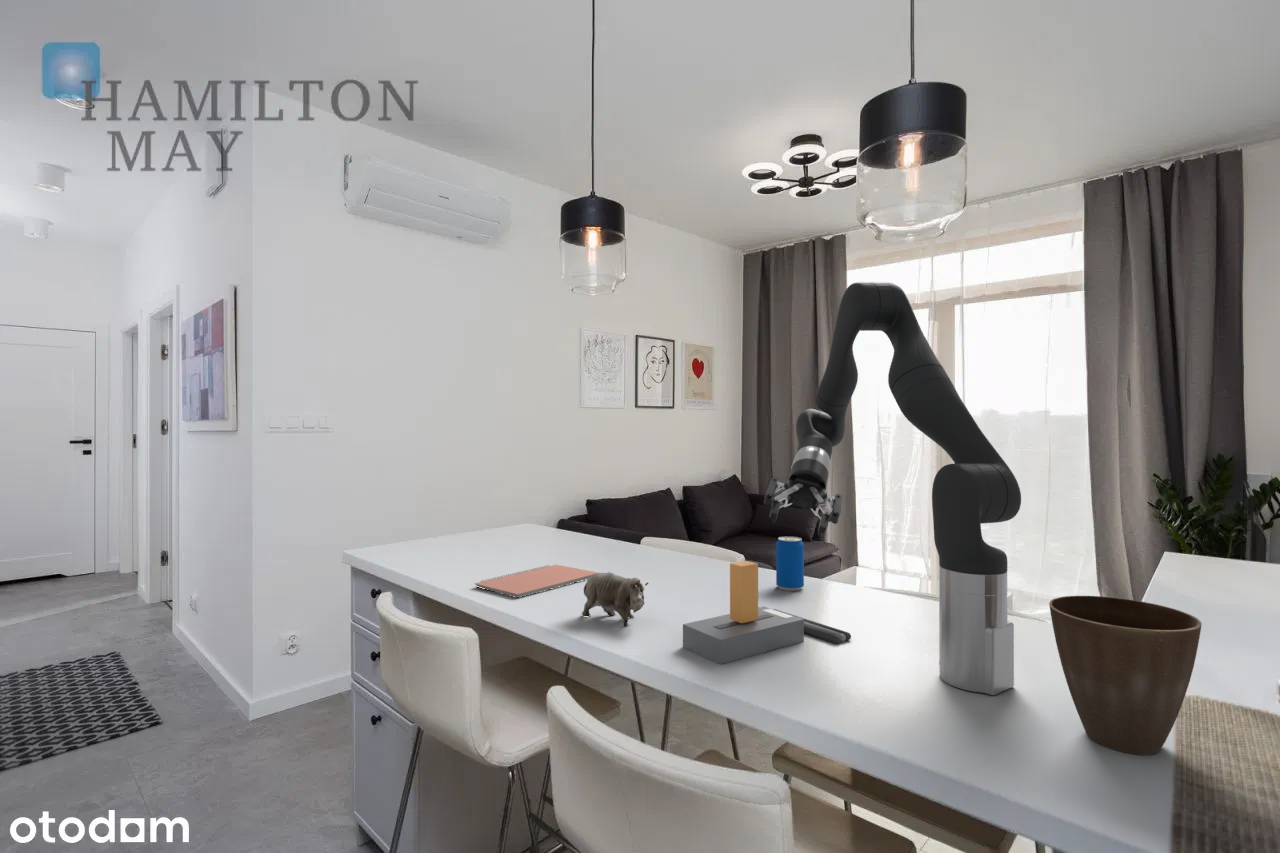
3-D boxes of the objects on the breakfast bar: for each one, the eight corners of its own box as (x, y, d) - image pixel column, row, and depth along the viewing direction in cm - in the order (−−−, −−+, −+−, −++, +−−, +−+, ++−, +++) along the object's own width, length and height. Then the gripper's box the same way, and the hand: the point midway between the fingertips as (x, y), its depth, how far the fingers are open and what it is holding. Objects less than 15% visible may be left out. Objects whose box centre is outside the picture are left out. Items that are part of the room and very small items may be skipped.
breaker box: (803, 641, 115) (803, 618, 115) (720, 664, 103) (720, 639, 104) (763, 626, 123) (763, 605, 123) (682, 646, 112) (682, 623, 112)
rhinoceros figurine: (595, 594, 137) (622, 544, 131) (636, 641, 131) (666, 591, 124) (569, 605, 132) (595, 553, 125) (610, 655, 125) (640, 603, 118)
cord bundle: (852, 640, 115) (852, 632, 115) (816, 651, 110) (816, 643, 110) (774, 614, 131) (774, 607, 131) (738, 622, 126) (738, 615, 126)
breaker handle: (758, 619, 113) (758, 563, 113) (741, 623, 111) (741, 566, 111) (746, 615, 116) (746, 560, 116) (730, 619, 113) (730, 563, 113)
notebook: (553, 570, 175) (553, 563, 175) (598, 579, 164) (598, 571, 164) (471, 589, 154) (471, 581, 154) (517, 601, 143) (517, 592, 143)
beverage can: (801, 585, 156) (801, 536, 156) (805, 591, 150) (805, 541, 150) (774, 584, 157) (774, 536, 157) (777, 591, 150) (777, 540, 150)
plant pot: (1180, 788, 68) (1179, 638, 68) (1028, 734, 80) (1028, 607, 80) (1218, 747, 76) (1217, 614, 77) (1076, 704, 89) (1076, 589, 89)
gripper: (778, 449, 129) (762, 500, 117) (849, 467, 126) (840, 521, 113) (772, 476, 134) (756, 528, 122) (840, 494, 130) (831, 550, 118)
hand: (797, 525), depth 118 cm, fingers open, 8 cm apart
